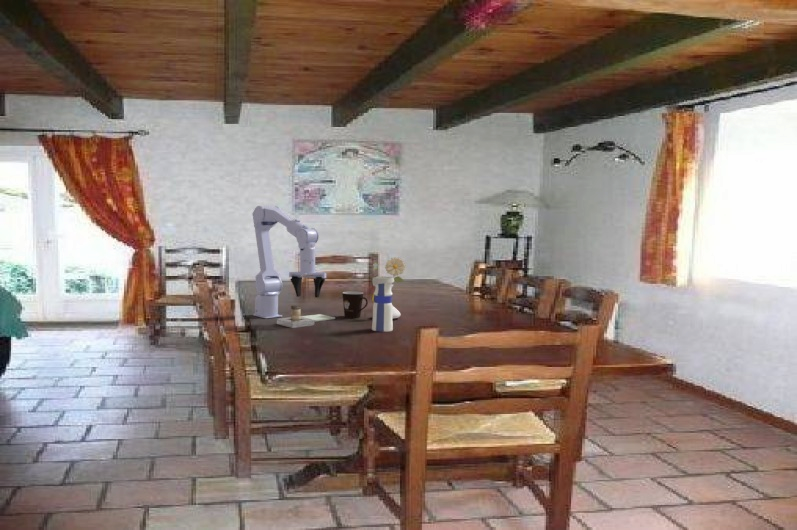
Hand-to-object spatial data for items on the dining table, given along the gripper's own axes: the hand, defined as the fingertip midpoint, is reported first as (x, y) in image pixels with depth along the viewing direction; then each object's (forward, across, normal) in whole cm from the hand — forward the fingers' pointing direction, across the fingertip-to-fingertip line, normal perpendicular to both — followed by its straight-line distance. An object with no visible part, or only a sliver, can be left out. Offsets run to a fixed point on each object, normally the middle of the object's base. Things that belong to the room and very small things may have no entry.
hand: (307, 296), depth 241 cm
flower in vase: (+11, +23, +26) cm, 37 cm away
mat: (+10, -2, +14) cm, 17 cm away
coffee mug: (+11, +10, +22) cm, 26 cm away
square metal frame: (+10, -4, -2) cm, 11 cm away
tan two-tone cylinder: (+10, -4, -2) cm, 11 cm away
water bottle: (+12, +29, +2) cm, 31 cm away
